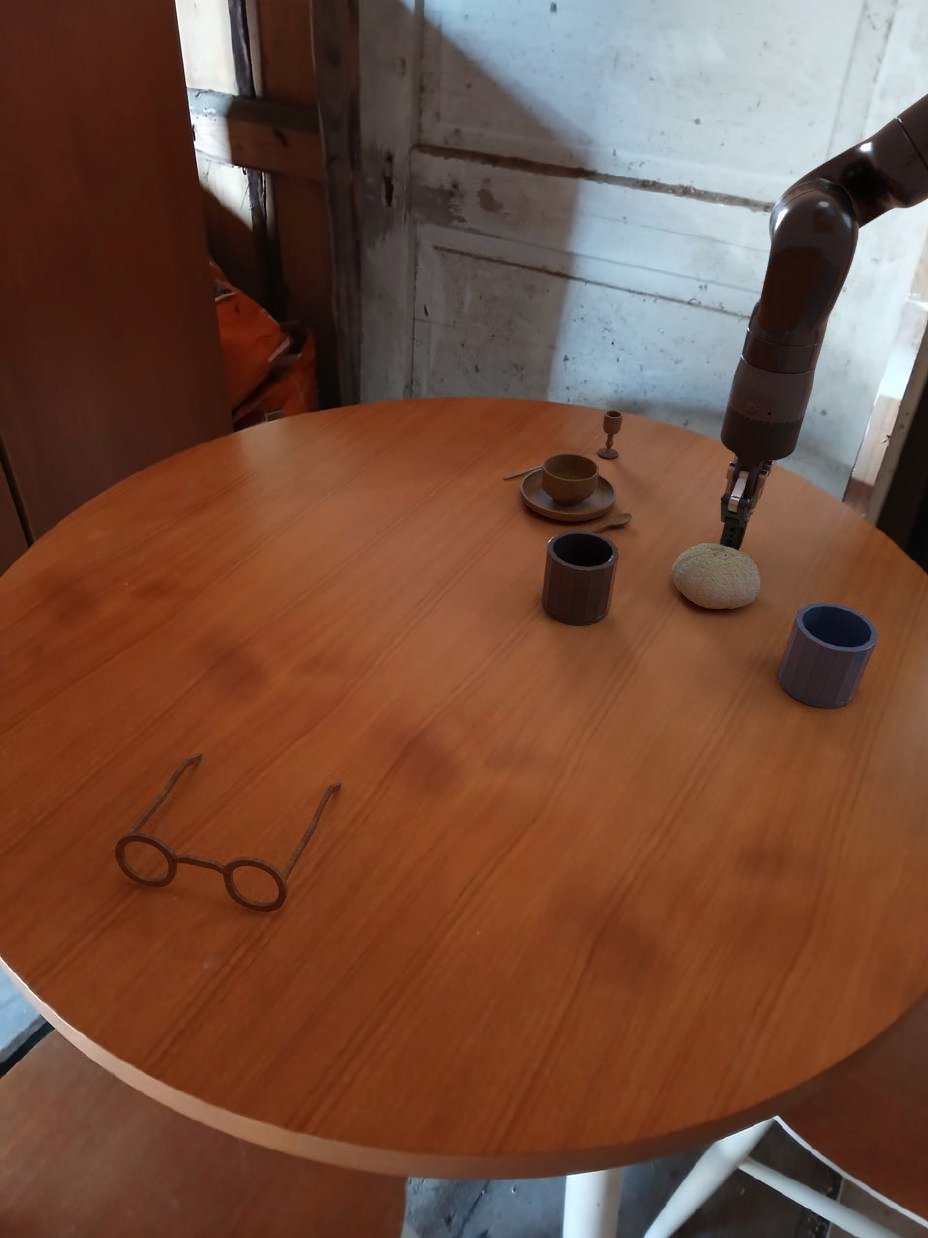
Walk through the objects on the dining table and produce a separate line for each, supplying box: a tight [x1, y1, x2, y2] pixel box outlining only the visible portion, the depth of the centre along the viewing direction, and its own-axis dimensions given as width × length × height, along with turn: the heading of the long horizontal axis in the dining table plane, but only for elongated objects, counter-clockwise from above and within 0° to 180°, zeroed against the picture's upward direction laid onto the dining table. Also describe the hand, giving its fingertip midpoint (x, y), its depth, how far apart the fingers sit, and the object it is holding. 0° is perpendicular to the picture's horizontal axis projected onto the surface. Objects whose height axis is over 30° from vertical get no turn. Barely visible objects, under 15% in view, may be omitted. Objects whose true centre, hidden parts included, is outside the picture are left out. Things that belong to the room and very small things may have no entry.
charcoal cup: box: [541, 529, 620, 626], centre depth 94 cm, size 7×7×7 cm
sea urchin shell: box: [670, 542, 762, 610], centre depth 97 cm, size 9×8×8 cm
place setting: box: [503, 409, 633, 533], centre depth 113 cm, size 18×20×6 cm
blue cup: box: [777, 601, 879, 709], centre depth 85 cm, size 7×7×7 cm
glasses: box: [114, 752, 343, 913], centre depth 69 cm, size 13×13×5 cm
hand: (730, 546), depth 101 cm, fingers closed
